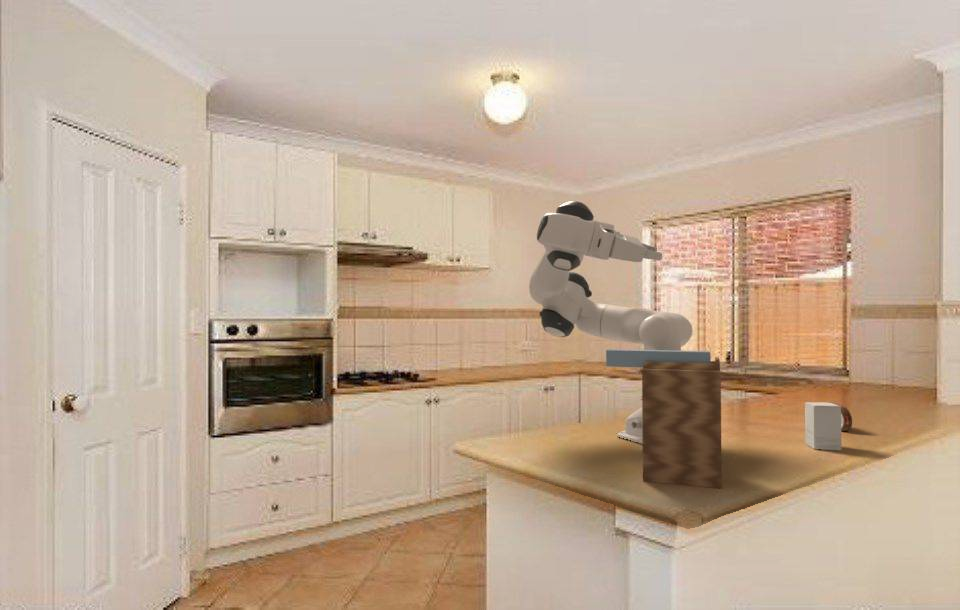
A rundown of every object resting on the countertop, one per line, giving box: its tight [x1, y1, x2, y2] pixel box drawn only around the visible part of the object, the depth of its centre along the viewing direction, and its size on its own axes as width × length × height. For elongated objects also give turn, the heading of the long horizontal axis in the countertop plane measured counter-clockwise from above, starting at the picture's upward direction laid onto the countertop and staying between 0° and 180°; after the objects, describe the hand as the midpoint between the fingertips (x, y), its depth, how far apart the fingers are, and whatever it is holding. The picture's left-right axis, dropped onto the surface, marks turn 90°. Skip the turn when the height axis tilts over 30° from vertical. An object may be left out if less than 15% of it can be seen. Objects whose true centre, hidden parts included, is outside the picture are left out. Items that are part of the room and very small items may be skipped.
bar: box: [605, 348, 712, 368], centre depth 141 cm, size 24×4×4 cm, turn 70°
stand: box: [641, 356, 723, 489], centre depth 139 cm, size 17×14×28 cm
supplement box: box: [804, 401, 842, 451], centre depth 168 cm, size 7×7×13 cm
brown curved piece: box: [827, 401, 853, 432], centre depth 194 cm, size 15×3×8 cm, turn 179°
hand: (658, 253), depth 141 cm, fingers open, 8 cm apart
